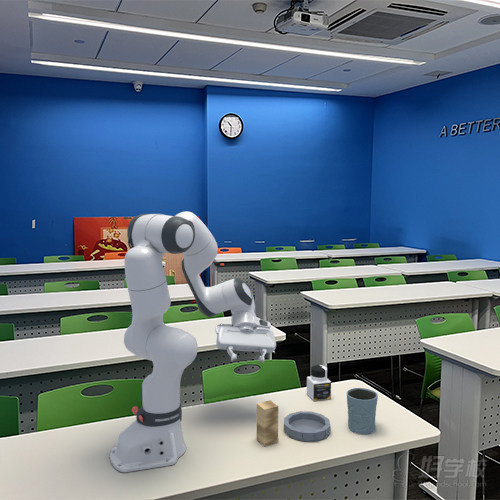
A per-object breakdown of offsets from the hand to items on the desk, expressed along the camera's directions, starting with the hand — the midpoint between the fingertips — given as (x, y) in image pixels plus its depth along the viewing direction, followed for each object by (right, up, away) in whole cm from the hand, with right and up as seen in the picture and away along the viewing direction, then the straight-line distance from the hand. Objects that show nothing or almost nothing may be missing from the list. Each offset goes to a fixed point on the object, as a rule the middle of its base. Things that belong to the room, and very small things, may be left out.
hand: (248, 361), depth 161 cm
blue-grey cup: (+38, -23, +3) cm, 44 cm away
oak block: (+6, -24, -6) cm, 25 cm away
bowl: (+19, -23, +1) cm, 30 cm away
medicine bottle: (+27, -20, +28) cm, 44 cm away
